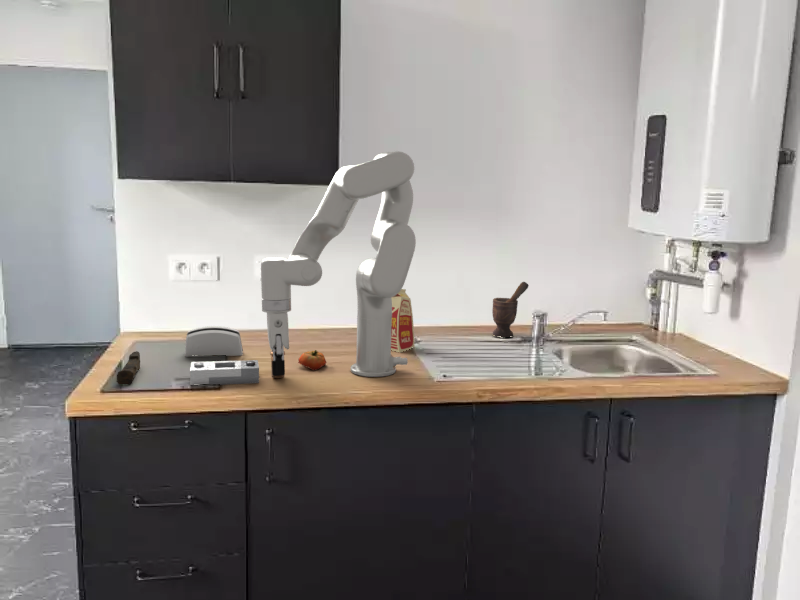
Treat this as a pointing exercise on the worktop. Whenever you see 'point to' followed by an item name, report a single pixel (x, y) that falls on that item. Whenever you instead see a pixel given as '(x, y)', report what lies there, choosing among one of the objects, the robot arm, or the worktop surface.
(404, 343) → the milk carton
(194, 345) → the grey toaster
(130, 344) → the worktop surface
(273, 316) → the robot arm
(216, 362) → the grey latch plate
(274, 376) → the pin
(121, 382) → the dark brown rounded rod
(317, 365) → the tomato
